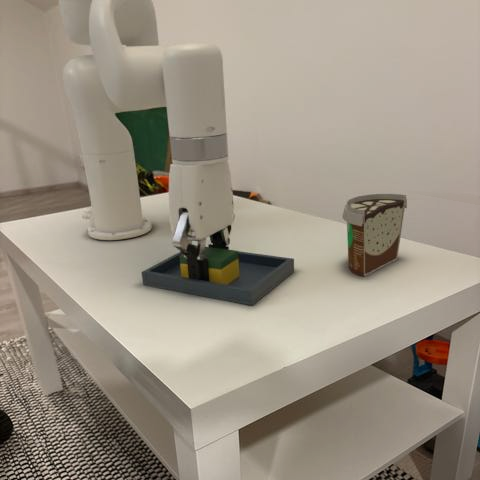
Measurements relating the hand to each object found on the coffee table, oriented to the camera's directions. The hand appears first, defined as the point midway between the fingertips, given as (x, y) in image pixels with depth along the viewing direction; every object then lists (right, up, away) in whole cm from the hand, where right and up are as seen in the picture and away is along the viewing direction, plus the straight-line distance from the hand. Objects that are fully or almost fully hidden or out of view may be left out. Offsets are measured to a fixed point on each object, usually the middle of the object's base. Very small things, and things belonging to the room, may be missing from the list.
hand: (210, 276), depth 75 cm
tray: (+1, 0, +2) cm, 2 cm away
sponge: (0, 0, 0) cm, 0 cm away
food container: (+24, +2, +4) cm, 24 cm away
